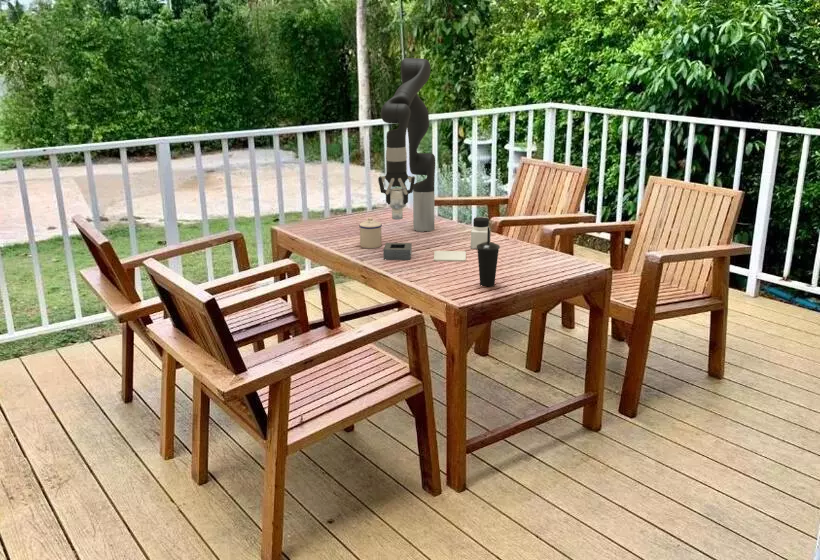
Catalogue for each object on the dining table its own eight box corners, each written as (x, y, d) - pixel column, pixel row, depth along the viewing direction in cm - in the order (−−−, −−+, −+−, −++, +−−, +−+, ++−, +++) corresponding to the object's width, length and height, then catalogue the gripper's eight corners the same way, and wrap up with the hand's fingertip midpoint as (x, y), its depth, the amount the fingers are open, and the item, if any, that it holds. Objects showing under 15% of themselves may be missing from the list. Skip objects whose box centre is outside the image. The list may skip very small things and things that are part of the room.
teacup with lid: (386, 246, 297) (386, 218, 294) (367, 250, 292) (367, 221, 289) (370, 240, 307) (369, 212, 303) (351, 243, 301) (350, 216, 298)
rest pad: (434, 252, 288) (434, 250, 288) (465, 252, 287) (465, 251, 287) (433, 261, 277) (433, 259, 277) (465, 261, 276) (465, 259, 276)
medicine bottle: (488, 249, 292) (489, 219, 288) (470, 248, 293) (471, 219, 289) (490, 245, 298) (491, 215, 295) (472, 244, 300) (473, 215, 296)
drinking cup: (475, 288, 246) (476, 229, 240) (476, 281, 253) (477, 224, 247) (498, 289, 245) (499, 230, 239) (499, 282, 252) (500, 224, 246)
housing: (386, 252, 288) (385, 242, 287) (411, 252, 288) (411, 242, 287) (383, 259, 279) (383, 249, 278) (409, 260, 278) (409, 249, 277)
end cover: (390, 216, 282) (390, 188, 278) (405, 216, 281) (404, 188, 278) (389, 220, 276) (388, 191, 273) (404, 220, 276) (403, 191, 273)
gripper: (416, 157, 275) (416, 202, 280) (378, 157, 276) (379, 201, 281) (415, 160, 268) (415, 206, 273) (375, 160, 269) (376, 206, 274)
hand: (397, 203), depth 277 cm, fingers closed on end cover, 5 cm apart
